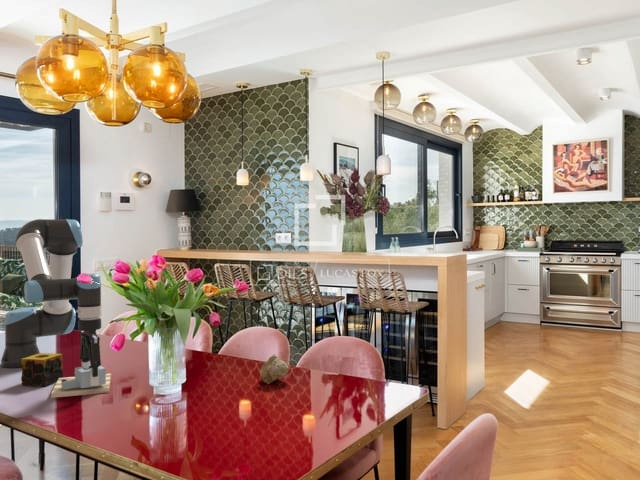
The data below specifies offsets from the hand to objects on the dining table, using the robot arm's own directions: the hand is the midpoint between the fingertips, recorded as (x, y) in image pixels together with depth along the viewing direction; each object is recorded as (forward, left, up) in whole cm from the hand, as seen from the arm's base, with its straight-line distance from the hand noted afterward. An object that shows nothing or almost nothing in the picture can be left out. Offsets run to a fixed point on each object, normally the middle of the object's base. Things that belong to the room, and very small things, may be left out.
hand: (90, 382), depth 188 cm
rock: (+12, +62, -3) cm, 63 cm away
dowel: (0, -8, -1) cm, 9 cm away
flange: (+1, -2, 0) cm, 3 cm away
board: (-6, -3, -3) cm, 7 cm away
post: (0, 0, -1) cm, 1 cm away
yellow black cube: (-18, -18, -3) cm, 25 cm away
